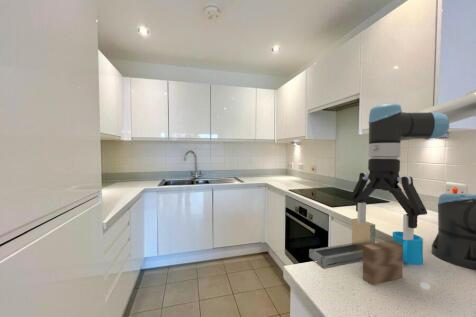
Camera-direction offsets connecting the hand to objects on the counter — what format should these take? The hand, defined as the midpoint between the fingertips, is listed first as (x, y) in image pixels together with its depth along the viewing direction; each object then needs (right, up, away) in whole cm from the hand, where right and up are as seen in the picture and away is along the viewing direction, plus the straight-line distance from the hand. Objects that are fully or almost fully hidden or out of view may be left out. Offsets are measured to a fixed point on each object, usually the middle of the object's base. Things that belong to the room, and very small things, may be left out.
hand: (382, 230), depth 58 cm
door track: (-6, -14, +12) cm, 19 cm away
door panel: (0, -14, 0) cm, 14 cm away
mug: (+16, -15, +10) cm, 24 cm away
